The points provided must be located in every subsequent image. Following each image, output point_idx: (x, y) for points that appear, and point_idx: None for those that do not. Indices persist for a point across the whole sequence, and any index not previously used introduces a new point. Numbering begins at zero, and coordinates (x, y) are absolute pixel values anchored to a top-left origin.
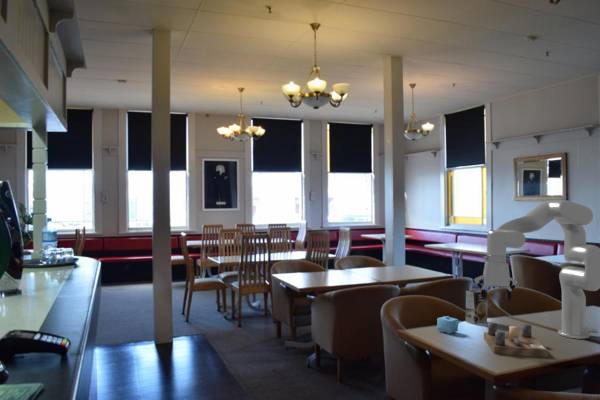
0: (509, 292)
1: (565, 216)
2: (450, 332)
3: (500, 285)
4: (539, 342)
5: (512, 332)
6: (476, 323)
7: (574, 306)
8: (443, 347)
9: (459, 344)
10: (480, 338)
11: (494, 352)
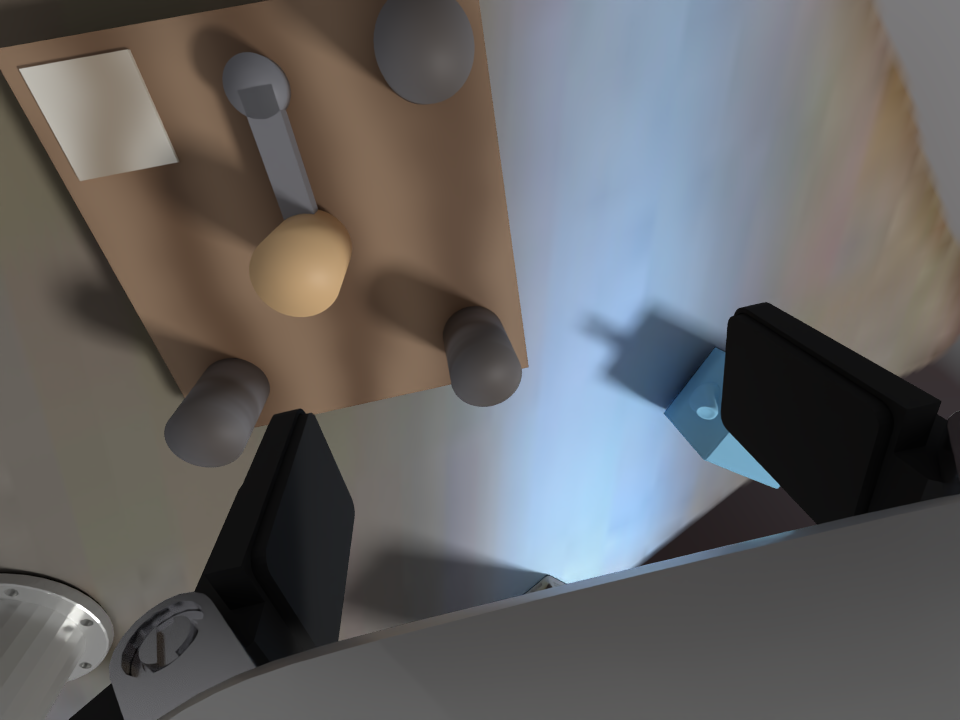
0: (217, 545)
1: None
2: (720, 350)
3: (517, 640)
4: (117, 269)
5: (313, 225)
6: (540, 585)
7: None
8: (827, 10)
9: (693, 148)
10: (538, 349)
11: None
